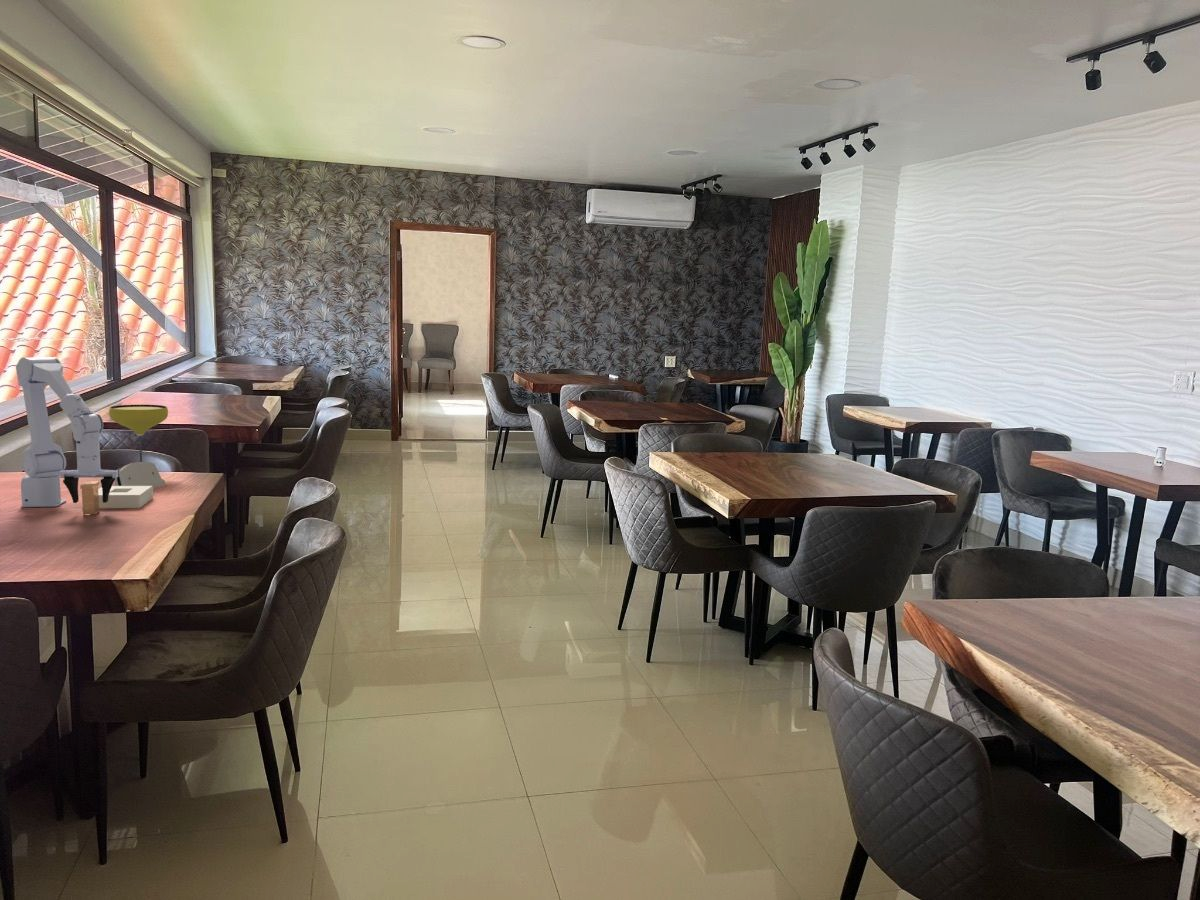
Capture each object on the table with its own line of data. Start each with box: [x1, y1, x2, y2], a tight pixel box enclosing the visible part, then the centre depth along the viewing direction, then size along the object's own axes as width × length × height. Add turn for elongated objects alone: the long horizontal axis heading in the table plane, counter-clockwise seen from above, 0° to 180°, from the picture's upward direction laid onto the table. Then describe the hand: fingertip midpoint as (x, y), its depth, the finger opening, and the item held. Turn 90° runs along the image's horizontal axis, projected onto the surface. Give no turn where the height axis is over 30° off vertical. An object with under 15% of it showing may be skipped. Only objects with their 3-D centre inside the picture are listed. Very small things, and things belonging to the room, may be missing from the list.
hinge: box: [114, 461, 167, 489], centre depth 278 cm, size 17×5×10 cm, turn 167°
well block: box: [98, 485, 154, 509], centre depth 257 cm, size 14×14×4 cm
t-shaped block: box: [79, 480, 100, 515], centre depth 242 cm, size 3×6×9 cm, turn 13°
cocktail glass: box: [109, 404, 169, 462], centre depth 296 cm, size 18×18×25 cm
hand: (90, 502), depth 242 cm, fingers open, 7 cm apart
